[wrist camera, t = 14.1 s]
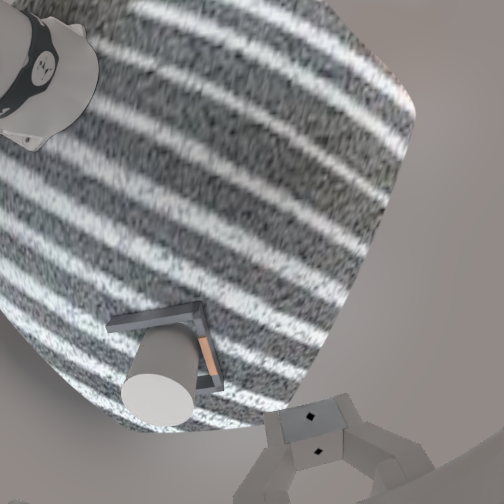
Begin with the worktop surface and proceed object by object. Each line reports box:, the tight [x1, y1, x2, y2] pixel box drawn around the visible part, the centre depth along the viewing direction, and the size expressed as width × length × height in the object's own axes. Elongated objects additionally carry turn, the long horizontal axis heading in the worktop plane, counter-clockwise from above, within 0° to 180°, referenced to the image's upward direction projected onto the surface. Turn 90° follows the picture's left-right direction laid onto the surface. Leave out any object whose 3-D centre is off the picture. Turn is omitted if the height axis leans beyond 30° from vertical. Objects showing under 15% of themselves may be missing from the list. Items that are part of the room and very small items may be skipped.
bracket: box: [105, 301, 224, 395], centre depth 39 cm, size 13×13×4 cm
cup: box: [121, 322, 200, 427], centre depth 35 cm, size 8×8×12 cm
